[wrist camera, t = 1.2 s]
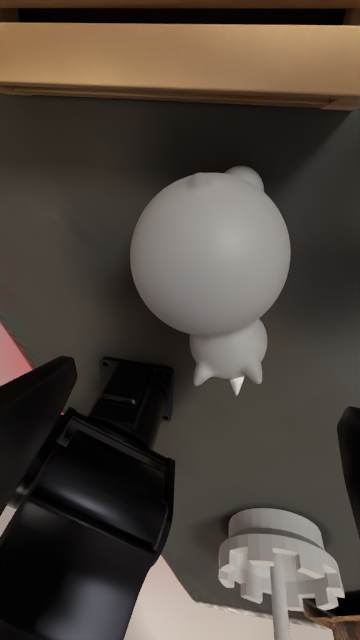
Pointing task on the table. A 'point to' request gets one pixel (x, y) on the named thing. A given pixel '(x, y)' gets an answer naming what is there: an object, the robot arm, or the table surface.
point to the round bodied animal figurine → (213, 267)
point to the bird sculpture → (335, 623)
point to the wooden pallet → (184, 56)
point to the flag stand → (279, 563)
